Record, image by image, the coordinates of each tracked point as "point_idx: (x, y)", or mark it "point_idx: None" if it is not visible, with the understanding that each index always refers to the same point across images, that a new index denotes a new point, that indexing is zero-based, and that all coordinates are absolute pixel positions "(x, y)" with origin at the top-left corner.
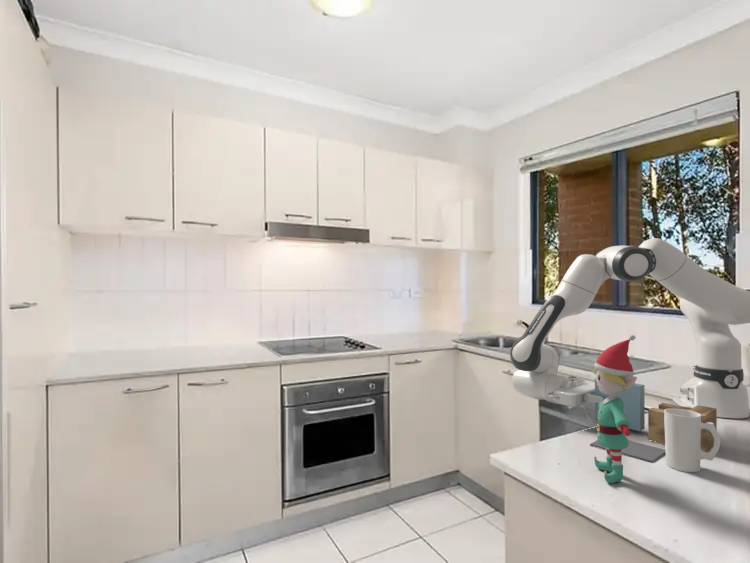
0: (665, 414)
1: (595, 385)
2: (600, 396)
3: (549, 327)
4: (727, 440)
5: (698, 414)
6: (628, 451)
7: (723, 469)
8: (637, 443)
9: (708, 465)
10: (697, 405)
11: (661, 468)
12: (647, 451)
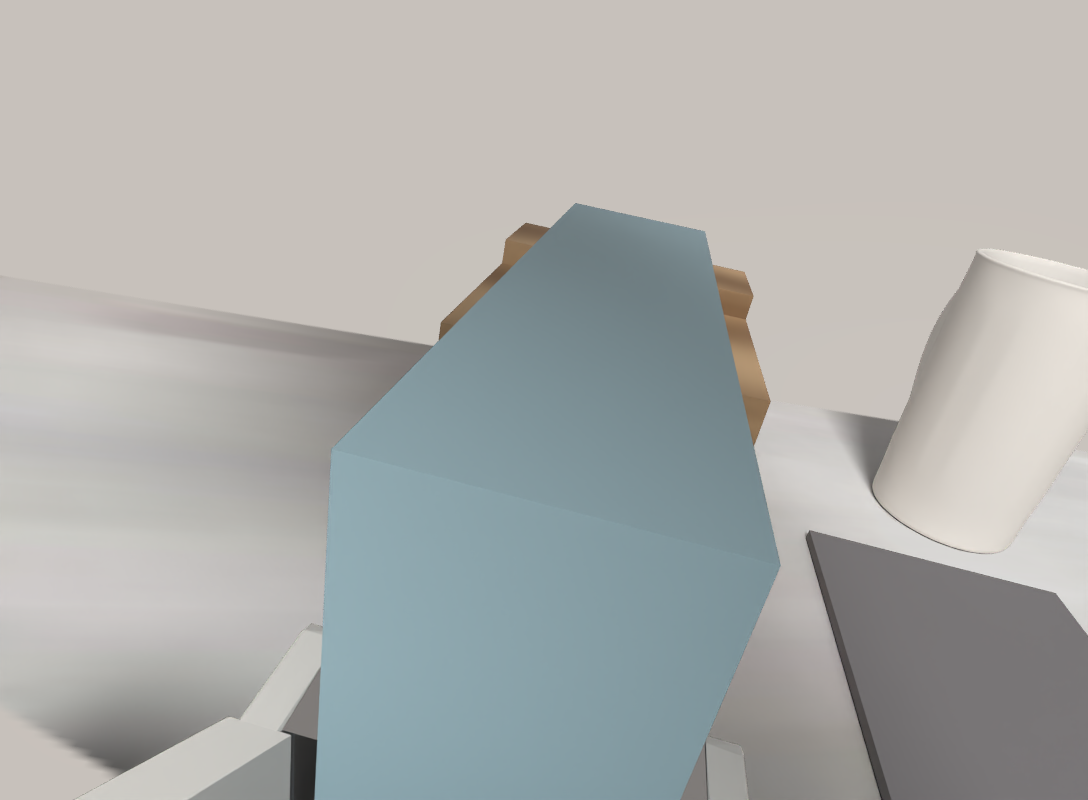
0: None
1: (691, 740)
2: (693, 781)
3: None
4: (404, 364)
5: (994, 254)
6: (1082, 693)
7: (809, 430)
8: (865, 649)
9: (816, 452)
10: (514, 240)
11: (1063, 573)
12: (945, 605)
